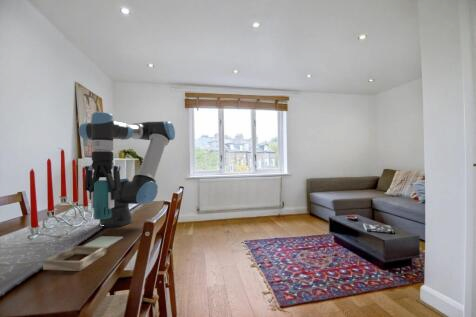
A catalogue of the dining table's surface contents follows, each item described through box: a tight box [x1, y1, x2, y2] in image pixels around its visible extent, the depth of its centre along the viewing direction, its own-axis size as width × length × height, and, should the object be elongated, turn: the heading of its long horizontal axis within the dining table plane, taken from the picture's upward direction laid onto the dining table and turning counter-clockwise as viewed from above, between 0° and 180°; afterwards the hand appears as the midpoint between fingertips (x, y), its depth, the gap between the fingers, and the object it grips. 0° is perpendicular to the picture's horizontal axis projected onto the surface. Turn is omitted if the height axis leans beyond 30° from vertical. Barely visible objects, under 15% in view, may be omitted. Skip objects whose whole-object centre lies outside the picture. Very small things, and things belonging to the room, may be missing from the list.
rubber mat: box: [83, 235, 124, 249], centre depth 89 cm, size 11×10×1 cm
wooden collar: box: [42, 245, 107, 272], centre depth 73 cm, size 12×12×2 cm
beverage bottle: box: [92, 172, 112, 221], centre depth 89 cm, size 6×7×20 cm
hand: (102, 207), depth 89 cm, fingers closed on beverage bottle, 6 cm apart
